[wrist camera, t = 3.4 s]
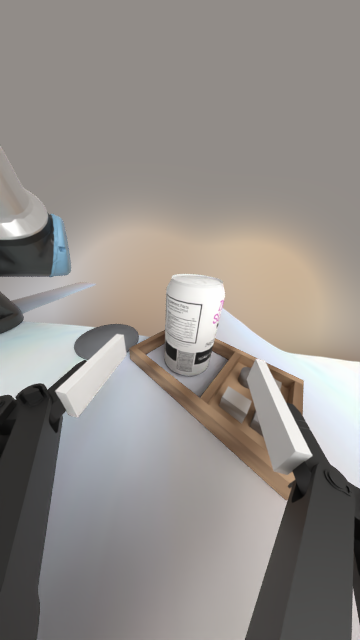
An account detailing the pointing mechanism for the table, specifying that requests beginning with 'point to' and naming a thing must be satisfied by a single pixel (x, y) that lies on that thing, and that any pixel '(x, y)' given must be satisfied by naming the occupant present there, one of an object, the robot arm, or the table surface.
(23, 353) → the table surface
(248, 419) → the parts tray
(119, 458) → the table surface
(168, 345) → the supplement can
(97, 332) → the coaster
